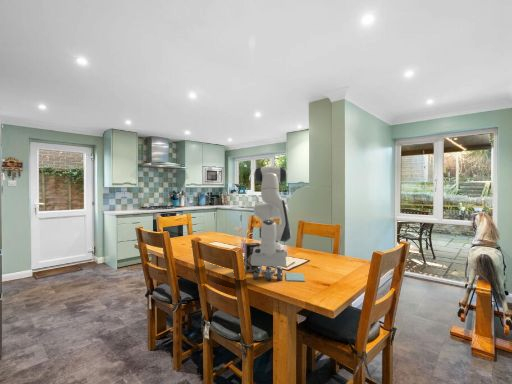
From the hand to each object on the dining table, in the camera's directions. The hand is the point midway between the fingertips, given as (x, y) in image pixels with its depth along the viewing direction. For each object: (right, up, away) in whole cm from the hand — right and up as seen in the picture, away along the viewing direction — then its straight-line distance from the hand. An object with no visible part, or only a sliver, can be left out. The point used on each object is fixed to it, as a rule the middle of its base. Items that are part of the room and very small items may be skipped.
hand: (268, 273), depth 149 cm
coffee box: (-9, -2, +11) cm, 14 cm away
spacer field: (0, -2, 0) cm, 2 cm away
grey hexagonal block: (0, -2, 0) cm, 2 cm away
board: (+15, -2, -1) cm, 15 cm away
